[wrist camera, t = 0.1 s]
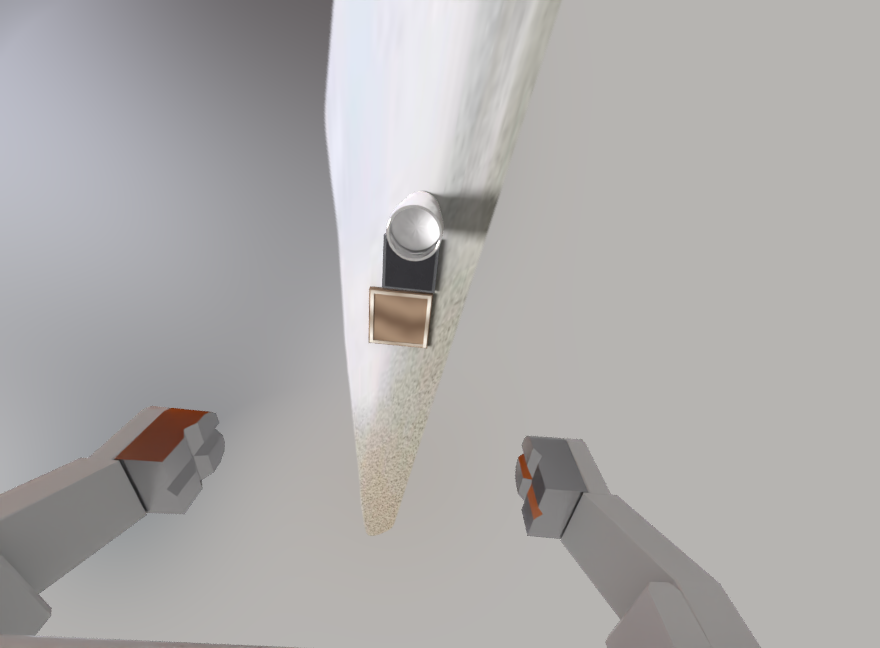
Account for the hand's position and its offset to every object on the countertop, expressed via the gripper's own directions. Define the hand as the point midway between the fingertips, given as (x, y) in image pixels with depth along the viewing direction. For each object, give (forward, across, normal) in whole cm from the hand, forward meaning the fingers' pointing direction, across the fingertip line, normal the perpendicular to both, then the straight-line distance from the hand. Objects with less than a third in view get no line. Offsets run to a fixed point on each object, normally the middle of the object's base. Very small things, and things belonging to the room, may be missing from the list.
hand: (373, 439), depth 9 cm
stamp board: (+48, +3, +21) cm, 52 cm away
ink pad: (+48, +2, +11) cm, 49 cm away
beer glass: (+48, +1, +2) cm, 48 cm away
